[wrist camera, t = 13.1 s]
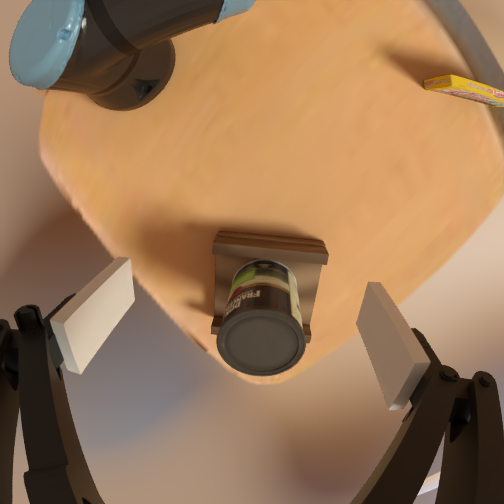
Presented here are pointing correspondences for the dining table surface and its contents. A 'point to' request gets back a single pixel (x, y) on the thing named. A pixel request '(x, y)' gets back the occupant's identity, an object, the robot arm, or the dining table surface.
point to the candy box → (466, 89)
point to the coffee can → (262, 320)
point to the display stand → (274, 248)
